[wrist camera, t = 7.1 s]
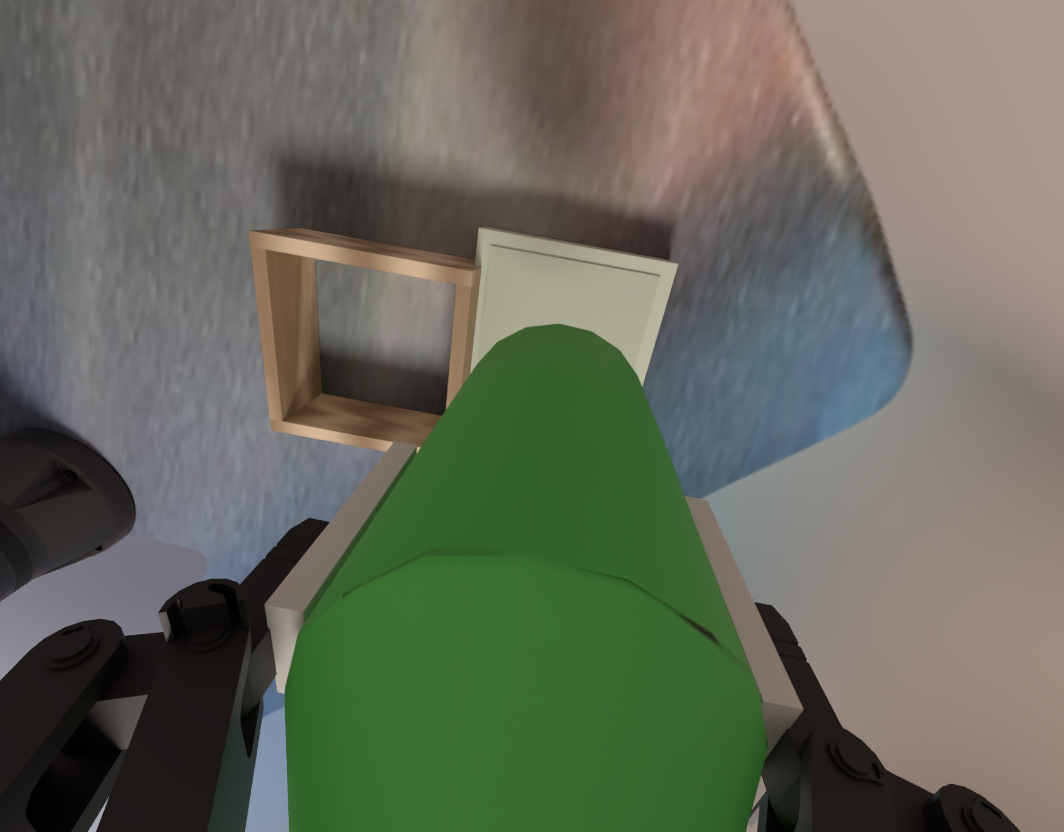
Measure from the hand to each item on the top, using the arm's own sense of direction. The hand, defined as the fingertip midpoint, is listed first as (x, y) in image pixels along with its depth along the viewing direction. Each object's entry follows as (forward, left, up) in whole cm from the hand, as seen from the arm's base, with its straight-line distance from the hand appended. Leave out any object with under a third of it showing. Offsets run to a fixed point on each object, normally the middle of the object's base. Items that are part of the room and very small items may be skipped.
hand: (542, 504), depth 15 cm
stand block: (0, 0, -23) cm, 23 cm away
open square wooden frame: (-14, -3, -23) cm, 27 cm away
